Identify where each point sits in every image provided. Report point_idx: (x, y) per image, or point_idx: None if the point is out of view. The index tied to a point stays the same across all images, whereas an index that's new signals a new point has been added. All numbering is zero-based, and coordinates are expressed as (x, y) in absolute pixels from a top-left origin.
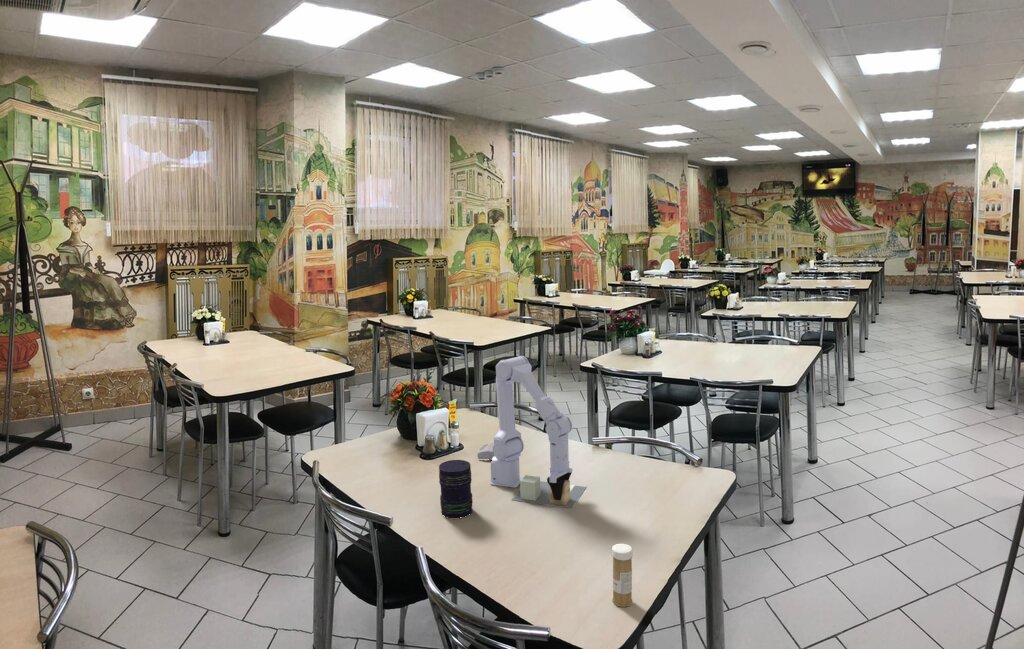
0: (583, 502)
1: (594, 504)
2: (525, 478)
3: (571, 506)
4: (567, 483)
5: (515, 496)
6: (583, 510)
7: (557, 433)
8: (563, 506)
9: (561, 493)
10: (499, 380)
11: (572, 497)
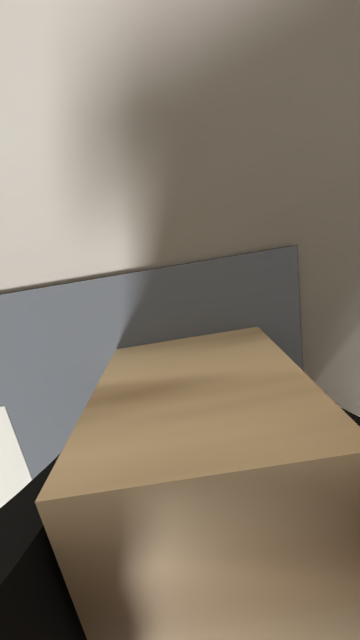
0: (120, 202)
1: (105, 60)
2: None
3: (264, 266)
4: (200, 480)
5: None
6: (294, 115)
7: None
8: (290, 330)
9: (353, 416)
10: None
11: (83, 341)
